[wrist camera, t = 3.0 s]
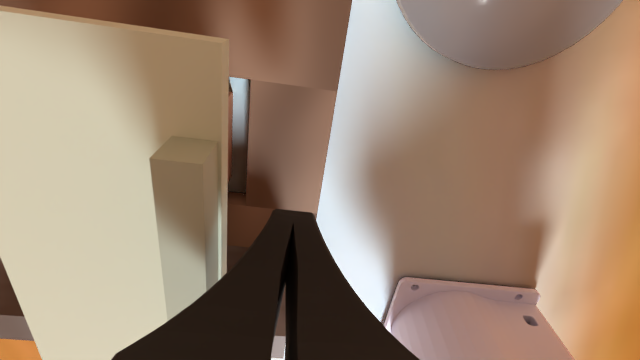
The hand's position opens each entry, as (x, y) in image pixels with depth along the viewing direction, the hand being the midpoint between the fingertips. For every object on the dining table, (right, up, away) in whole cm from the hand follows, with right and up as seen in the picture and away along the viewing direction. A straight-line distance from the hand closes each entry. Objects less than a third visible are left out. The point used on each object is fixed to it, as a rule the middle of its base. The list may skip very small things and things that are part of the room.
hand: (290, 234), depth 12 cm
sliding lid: (-6, 0, 0) cm, 6 cm away
